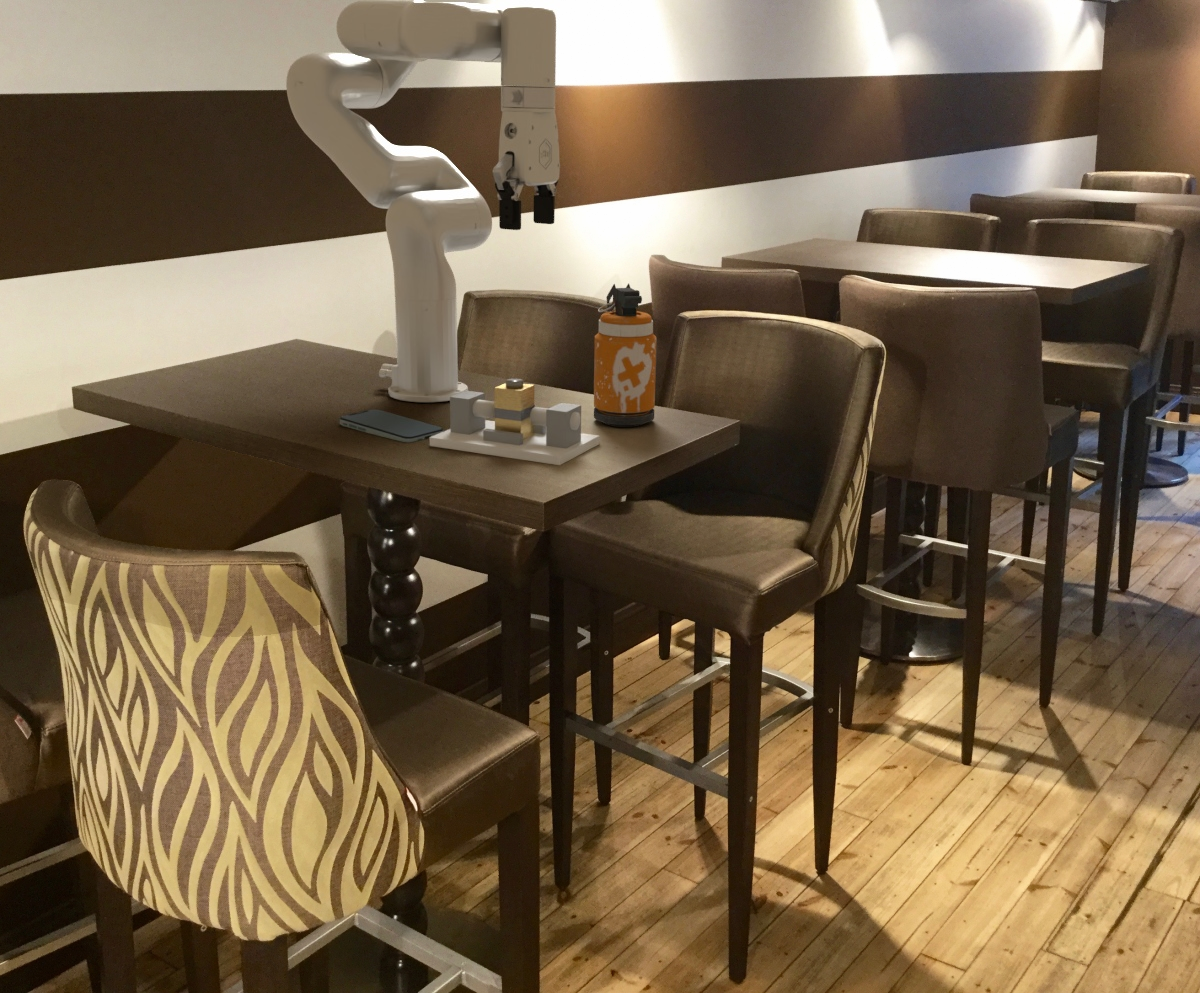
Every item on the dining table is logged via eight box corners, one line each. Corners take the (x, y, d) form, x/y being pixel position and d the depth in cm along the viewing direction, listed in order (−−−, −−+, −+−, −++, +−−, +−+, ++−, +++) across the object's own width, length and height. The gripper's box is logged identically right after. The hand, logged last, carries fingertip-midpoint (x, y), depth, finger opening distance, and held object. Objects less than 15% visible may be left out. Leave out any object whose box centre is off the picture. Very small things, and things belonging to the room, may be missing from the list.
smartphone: (407, 437, 175) (336, 416, 184) (407, 449, 176) (336, 427, 185) (447, 427, 181) (375, 407, 190) (447, 439, 182) (375, 418, 190)
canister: (602, 430, 184) (604, 291, 178) (583, 412, 194) (584, 280, 188) (661, 427, 186) (666, 290, 180) (639, 409, 196) (643, 279, 190)
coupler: (521, 441, 173) (520, 384, 170) (494, 437, 174) (494, 381, 172) (534, 434, 176) (534, 379, 174) (508, 431, 178) (508, 376, 175)
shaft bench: (429, 445, 174) (428, 401, 173) (474, 426, 185) (474, 384, 183) (559, 465, 166) (559, 419, 164) (599, 444, 177) (600, 400, 175)
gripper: (520, 101, 168) (520, 233, 173) (580, 101, 183) (578, 223, 188) (472, 100, 171) (473, 229, 176) (534, 100, 186) (533, 219, 191)
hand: (527, 226), depth 182 cm, fingers open, 9 cm apart
